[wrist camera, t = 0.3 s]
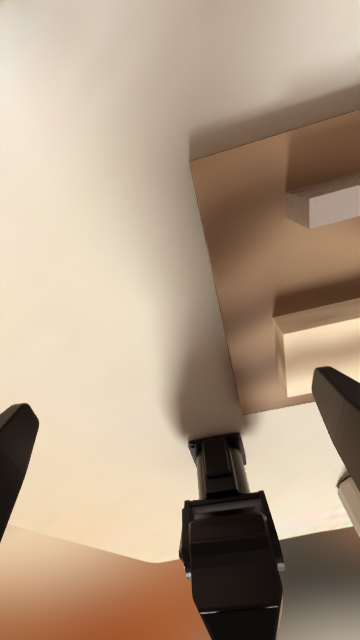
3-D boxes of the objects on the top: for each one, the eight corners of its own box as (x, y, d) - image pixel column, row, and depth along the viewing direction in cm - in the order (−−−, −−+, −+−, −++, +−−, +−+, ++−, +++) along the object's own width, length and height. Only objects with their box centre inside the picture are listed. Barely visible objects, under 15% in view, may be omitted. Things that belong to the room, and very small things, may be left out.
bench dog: (396, 188, 17) (444, 193, 14) (286, 217, 18) (309, 229, 15) (400, 159, 16) (453, 159, 13) (285, 192, 17) (309, 198, 14)
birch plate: (387, 355, 24) (408, 374, 22) (277, 377, 25) (287, 397, 23) (400, 288, 20) (426, 303, 18) (272, 317, 22) (283, 334, 19)
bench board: (411, 370, 27) (423, 381, 26) (239, 404, 29) (242, 415, 28) (491, 68, 15) (521, 59, 14) (189, 161, 17) (190, 161, 16)
